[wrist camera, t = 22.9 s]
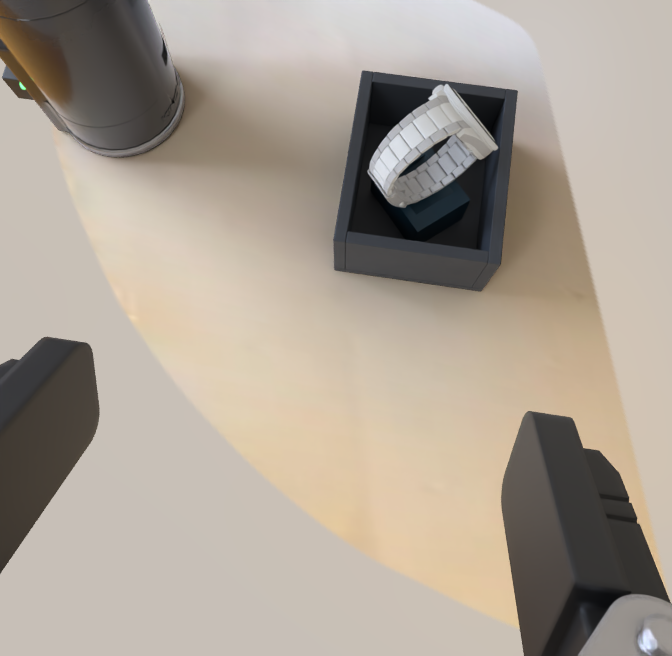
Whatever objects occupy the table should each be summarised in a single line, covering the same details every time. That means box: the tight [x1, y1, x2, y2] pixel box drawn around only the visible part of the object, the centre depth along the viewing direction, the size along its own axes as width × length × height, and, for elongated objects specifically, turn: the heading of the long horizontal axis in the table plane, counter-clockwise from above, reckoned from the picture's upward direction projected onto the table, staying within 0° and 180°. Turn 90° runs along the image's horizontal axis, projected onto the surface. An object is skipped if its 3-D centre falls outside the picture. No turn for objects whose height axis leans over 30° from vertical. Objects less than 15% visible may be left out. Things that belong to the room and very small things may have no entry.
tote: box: [333, 71, 518, 291], centre depth 43 cm, size 11×13×6 cm
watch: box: [367, 84, 498, 242], centre depth 40 cm, size 6×8×11 cm
